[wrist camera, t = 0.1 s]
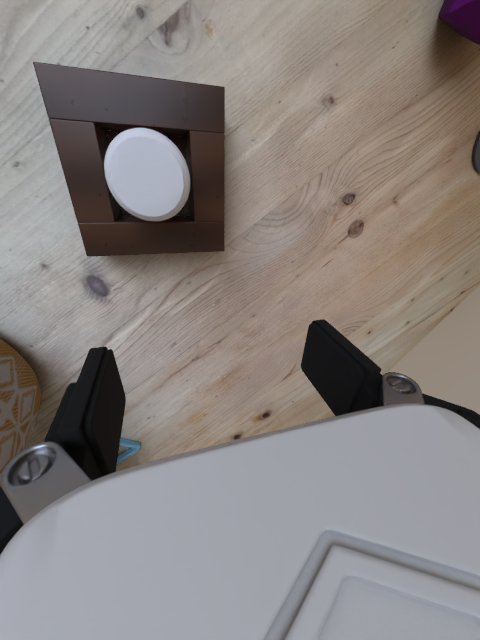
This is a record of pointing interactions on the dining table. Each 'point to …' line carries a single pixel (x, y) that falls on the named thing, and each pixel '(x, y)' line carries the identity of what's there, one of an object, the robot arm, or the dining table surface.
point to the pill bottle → (147, 174)
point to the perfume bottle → (463, 17)
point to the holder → (126, 113)
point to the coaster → (476, 154)
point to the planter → (16, 403)
